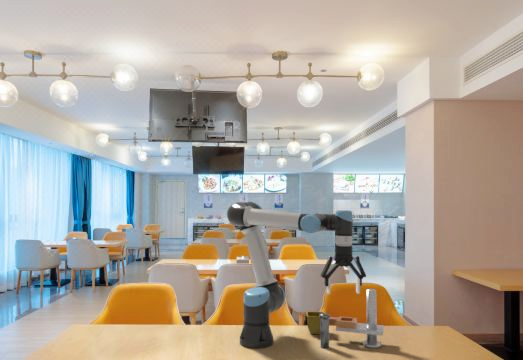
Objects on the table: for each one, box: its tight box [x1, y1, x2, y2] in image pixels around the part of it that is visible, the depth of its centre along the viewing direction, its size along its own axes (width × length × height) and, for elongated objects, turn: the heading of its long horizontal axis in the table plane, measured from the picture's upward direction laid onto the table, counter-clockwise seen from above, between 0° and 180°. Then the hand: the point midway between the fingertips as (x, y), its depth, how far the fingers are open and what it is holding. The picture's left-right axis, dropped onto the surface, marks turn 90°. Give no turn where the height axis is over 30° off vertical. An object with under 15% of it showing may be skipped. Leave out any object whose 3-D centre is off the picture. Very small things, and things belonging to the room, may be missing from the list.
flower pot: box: [306, 311, 325, 335], centre depth 201 cm, size 9×9×9 cm
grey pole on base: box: [329, 288, 385, 349], centre depth 188 cm, size 26×10×24 cm, turn 70°
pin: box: [319, 312, 331, 349], centre depth 182 cm, size 5×5×14 cm
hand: (343, 293), depth 184 cm, fingers open, 13 cm apart
